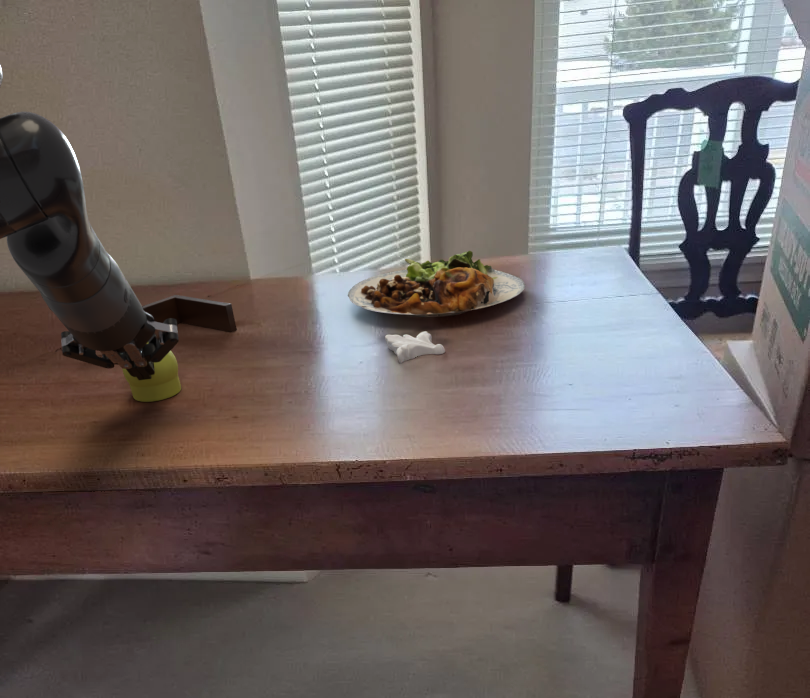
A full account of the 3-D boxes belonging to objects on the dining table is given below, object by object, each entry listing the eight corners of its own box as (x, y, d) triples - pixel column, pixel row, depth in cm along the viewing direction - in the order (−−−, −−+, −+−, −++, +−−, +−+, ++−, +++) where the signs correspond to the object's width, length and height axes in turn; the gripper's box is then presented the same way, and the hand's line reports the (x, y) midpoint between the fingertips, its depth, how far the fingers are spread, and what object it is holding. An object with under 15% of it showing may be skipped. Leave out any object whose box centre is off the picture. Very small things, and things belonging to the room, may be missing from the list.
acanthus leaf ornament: (399, 364, 95) (397, 350, 94) (379, 349, 100) (377, 336, 99) (450, 351, 97) (449, 337, 96) (428, 338, 102) (427, 324, 101)
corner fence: (168, 357, 104) (161, 329, 101) (113, 344, 111) (105, 318, 108) (237, 329, 112) (231, 303, 110) (181, 319, 119) (175, 294, 117)
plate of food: (453, 269, 132) (452, 234, 129) (562, 298, 113) (564, 257, 109) (318, 304, 120) (313, 266, 117) (414, 343, 101) (411, 299, 97)
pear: (153, 406, 89) (132, 333, 84) (120, 397, 92) (97, 327, 87) (194, 387, 93) (176, 317, 88) (161, 379, 97) (142, 311, 92)
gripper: (155, 252, 72) (197, 337, 89) (18, 268, 71) (86, 350, 88) (162, 321, 70) (203, 394, 87) (22, 339, 69) (91, 409, 86)
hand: (144, 372), depth 88 cm, fingers closed
